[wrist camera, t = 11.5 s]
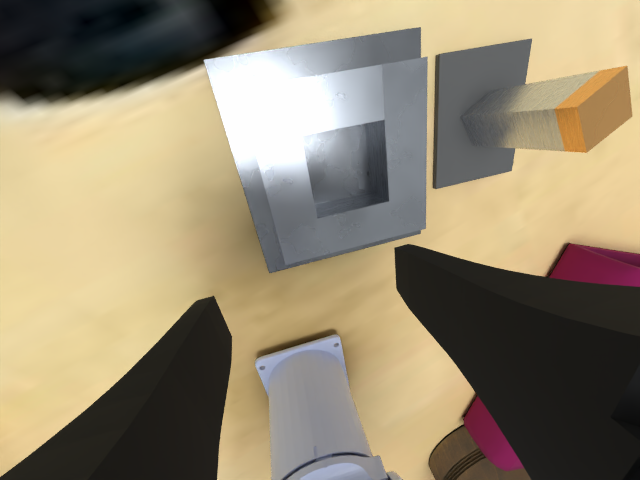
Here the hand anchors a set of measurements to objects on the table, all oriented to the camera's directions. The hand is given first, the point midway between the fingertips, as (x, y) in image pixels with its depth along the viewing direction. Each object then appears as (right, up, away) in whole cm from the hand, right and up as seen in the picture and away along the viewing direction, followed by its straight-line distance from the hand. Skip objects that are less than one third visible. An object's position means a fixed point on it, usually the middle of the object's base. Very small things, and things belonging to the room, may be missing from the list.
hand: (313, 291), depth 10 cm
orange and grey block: (+12, +11, +9) cm, 19 cm away
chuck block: (+1, +7, +8) cm, 11 cm away
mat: (+12, +11, +9) cm, 19 cm away
